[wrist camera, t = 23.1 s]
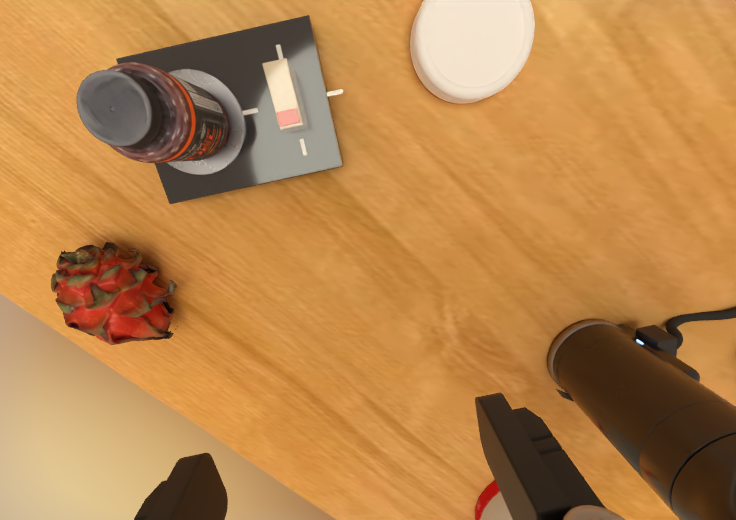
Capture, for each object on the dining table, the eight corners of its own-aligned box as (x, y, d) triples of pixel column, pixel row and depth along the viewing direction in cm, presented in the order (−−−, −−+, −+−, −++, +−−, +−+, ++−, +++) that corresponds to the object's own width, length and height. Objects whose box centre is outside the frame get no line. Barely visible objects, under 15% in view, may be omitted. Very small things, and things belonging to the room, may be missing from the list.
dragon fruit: (101, 225, 38) (193, 301, 42) (23, 287, 34) (133, 362, 39) (99, 213, 31) (209, 305, 36) (0, 290, 27) (138, 381, 32)
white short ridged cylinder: (465, -49, 31) (479, -73, 28) (540, 40, 33) (562, 27, 30) (386, 49, 33) (390, 37, 30) (462, 127, 35) (474, 125, 32)
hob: (328, 23, 32) (326, 10, 29) (357, 161, 36) (358, 162, 33) (136, 66, 32) (114, 58, 29) (183, 199, 36) (168, 204, 33)
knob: (274, 75, 30) (261, 62, 26) (295, 70, 30) (285, 56, 26) (289, 132, 32) (279, 130, 27) (309, 128, 32) (302, 124, 27)
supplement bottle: (205, 175, 32) (132, 187, 21) (144, 128, 31) (33, 116, 20) (245, 119, 31) (188, 103, 20) (183, 68, 30) (88, 22, 19)
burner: (227, 59, 30) (226, 58, 30) (257, 163, 32) (256, 163, 32) (128, 81, 30) (125, 81, 30) (165, 183, 33) (163, 184, 32)
